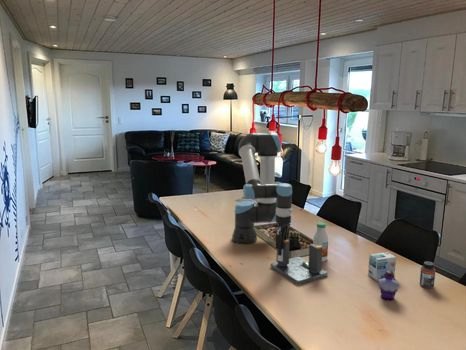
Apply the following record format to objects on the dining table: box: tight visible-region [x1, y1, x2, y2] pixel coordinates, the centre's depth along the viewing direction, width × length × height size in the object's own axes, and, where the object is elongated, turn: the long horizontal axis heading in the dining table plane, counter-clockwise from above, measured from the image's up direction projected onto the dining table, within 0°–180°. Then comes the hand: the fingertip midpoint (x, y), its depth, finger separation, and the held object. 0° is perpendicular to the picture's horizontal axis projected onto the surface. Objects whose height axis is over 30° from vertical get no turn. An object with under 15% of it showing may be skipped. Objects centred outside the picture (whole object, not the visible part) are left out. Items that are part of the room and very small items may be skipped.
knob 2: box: [308, 243, 323, 273], centre depth 187 cm, size 6×5×14 cm
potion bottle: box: [378, 270, 400, 302], centre depth 166 cm, size 9×9×12 cm
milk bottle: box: [312, 222, 329, 263], centre depth 205 cm, size 8×8×20 cm
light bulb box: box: [367, 251, 397, 281], centre depth 186 cm, size 11×7×11 cm, turn 105°
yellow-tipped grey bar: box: [275, 239, 290, 267], centre depth 194 cm, size 6×5×14 cm
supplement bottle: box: [419, 260, 436, 290], centre depth 176 cm, size 6×6×11 cm
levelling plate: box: [270, 256, 328, 286], centre depth 192 cm, size 22×18×4 cm
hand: (282, 258), depth 196 cm, fingers closed on yellow-tipped grey bar, 4 cm apart
